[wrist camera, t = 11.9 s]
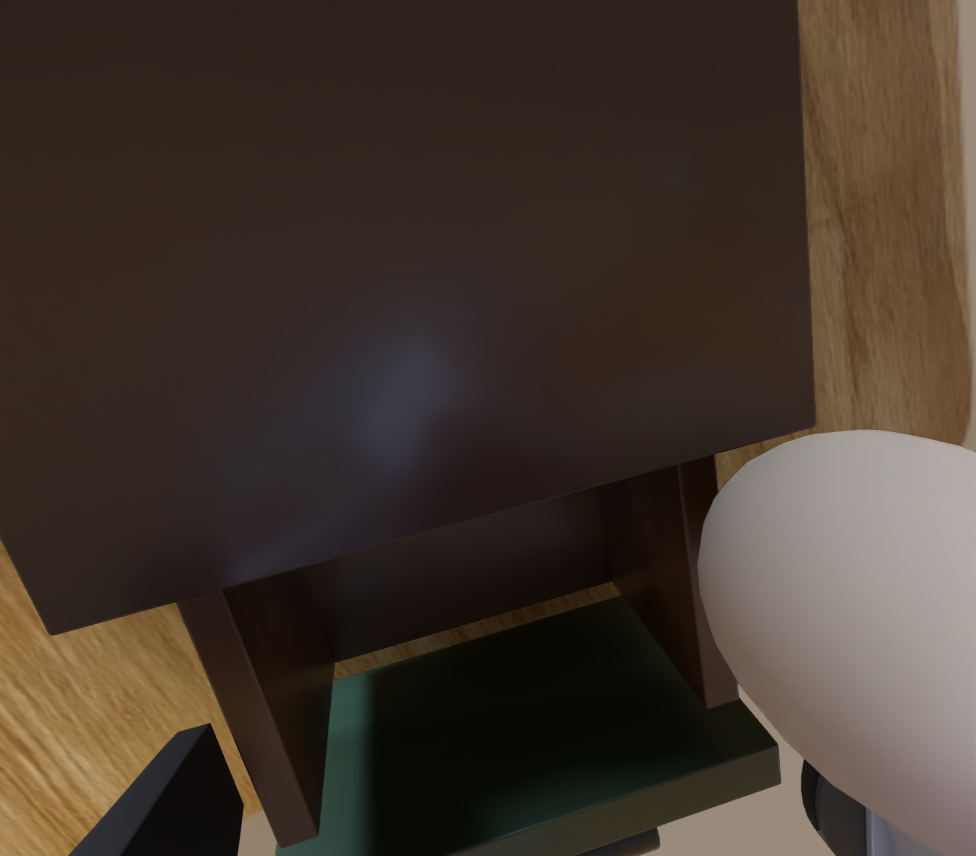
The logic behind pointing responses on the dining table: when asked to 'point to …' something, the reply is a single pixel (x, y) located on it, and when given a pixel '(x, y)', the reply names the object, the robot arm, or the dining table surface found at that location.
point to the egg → (858, 616)
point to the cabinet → (378, 272)
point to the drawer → (491, 685)
